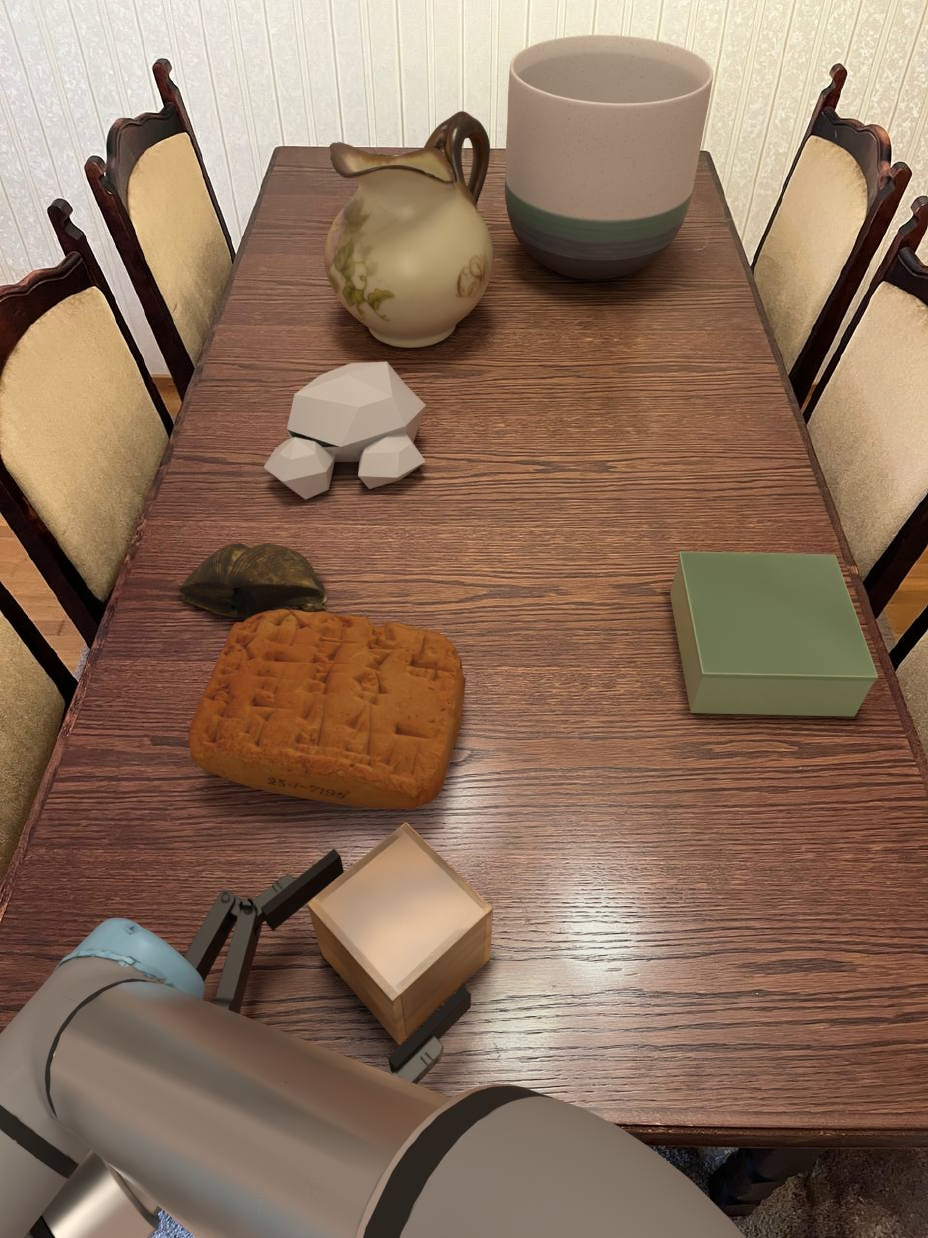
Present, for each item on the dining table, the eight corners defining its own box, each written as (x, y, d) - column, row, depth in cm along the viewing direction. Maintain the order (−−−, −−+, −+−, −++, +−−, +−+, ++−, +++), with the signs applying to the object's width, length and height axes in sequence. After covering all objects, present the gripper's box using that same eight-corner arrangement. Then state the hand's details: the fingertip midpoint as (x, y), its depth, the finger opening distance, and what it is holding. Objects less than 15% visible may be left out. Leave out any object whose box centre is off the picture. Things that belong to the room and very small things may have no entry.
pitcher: (325, 369, 120) (300, 174, 101) (340, 280, 135) (320, 97, 117) (494, 369, 120) (500, 174, 101) (489, 280, 136) (493, 97, 117)
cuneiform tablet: (186, 795, 77) (163, 742, 71) (254, 644, 88) (239, 587, 82) (439, 840, 74) (437, 788, 68) (477, 678, 86) (478, 622, 80)
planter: (651, 218, 149) (681, 30, 129) (699, 302, 131) (742, 99, 111) (490, 227, 147) (495, 37, 126) (516, 314, 129) (527, 109, 109)
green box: (856, 717, 83) (878, 677, 78) (689, 714, 83) (702, 673, 78) (817, 596, 93) (835, 554, 88) (668, 593, 93) (679, 551, 88)
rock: (449, 482, 104) (448, 413, 97) (278, 521, 100) (264, 451, 93) (404, 395, 116) (400, 327, 109) (248, 426, 111) (233, 358, 104)
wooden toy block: (490, 958, 68) (493, 908, 61) (399, 1046, 64) (392, 1002, 57) (411, 877, 72) (405, 821, 65) (321, 954, 68) (306, 903, 61)
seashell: (165, 616, 90) (154, 556, 86) (208, 570, 97) (200, 513, 93) (319, 646, 87) (316, 586, 83) (352, 597, 94) (350, 539, 90)
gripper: (52, 1027, 63) (299, 835, 72) (264, 1364, 51) (525, 1079, 60) (12, 989, 57) (285, 785, 67) (239, 1357, 45) (531, 1044, 55)
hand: (400, 924), depth 64 cm, fingers open, 13 cm apart
